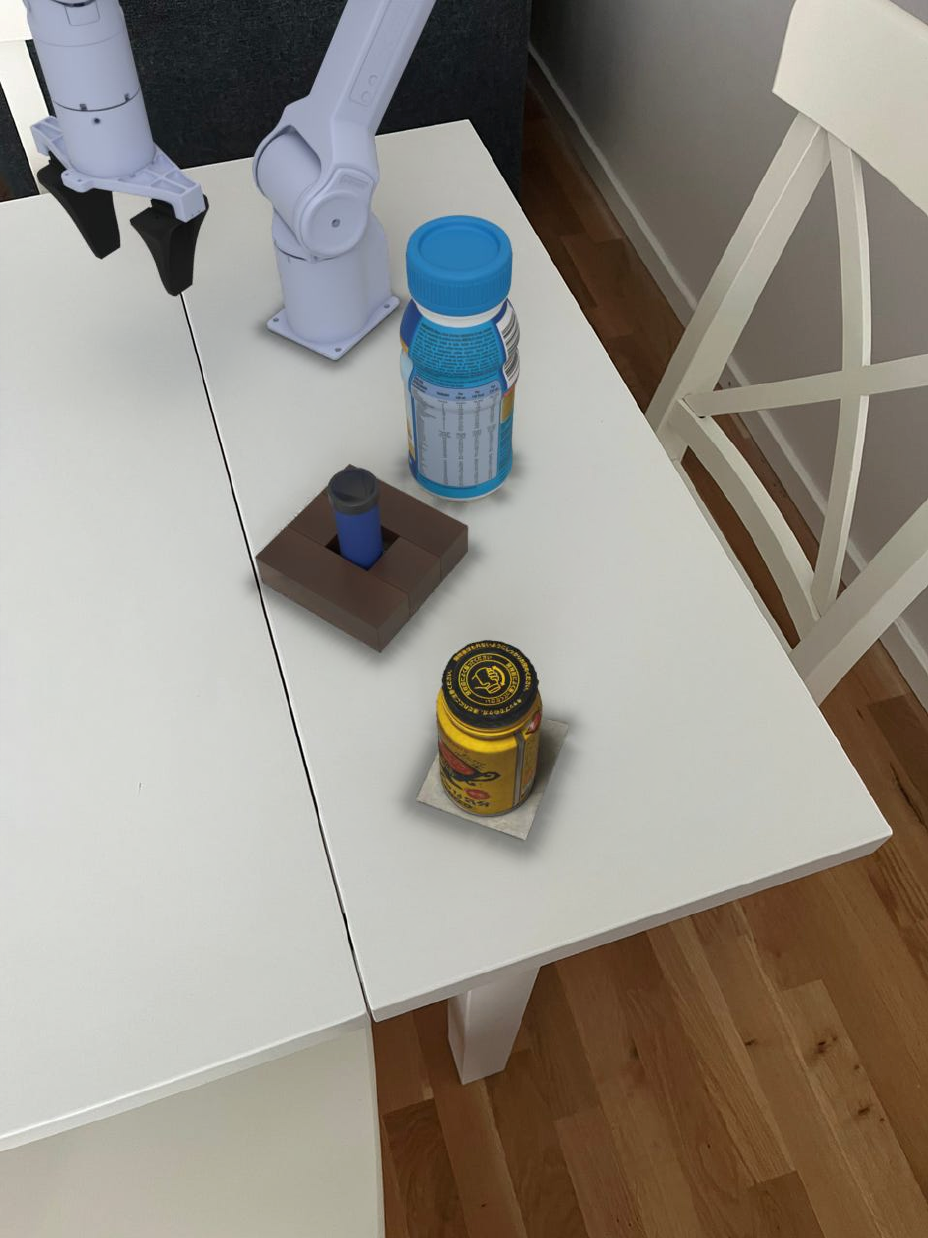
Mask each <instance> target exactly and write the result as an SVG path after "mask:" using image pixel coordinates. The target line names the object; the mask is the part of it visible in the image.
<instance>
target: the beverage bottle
mask: <svg viewBox="0 0 928 1238" xmlns="http://www.w3.org/2000/svg"><path fill="white" fill-rule="evenodd" d="M513 253H514V252H513V247H512V243H511V240H510V237H509V236H508V234H507V233H506V231H504V230H503V228H501V227H500V226H499V225H497V224H496V223H494V222H492V221H490V220H488V219H485V218H483V217H479V216H474V215H465V214H464V215H463V214H454V215H446V216H440V217H437V218H433V219H431V220H429V221H427V222H425V223H423V224H422V225H420V226H419V227H418V228H416V229H415V230H414V231H413V232H412V233H411V235H410V236H409V238H408V240H407V243H406V251H405V267H406V268H405V269H406V270H405V271H406V279H407V280H406V281H407V282H406V283H407V288H408V291H409V294H410V297H411V298H410V300H409V301H408V303H407V305H406V307H405V309H404V312H403V314H402V317H401V321H400V324H399V342H400V344H401V351H400V355H399V372H400V378H401V380H402V383H403V390H404V391H403V392H404V404H405V415H406V428H407V429H406V431H407V441H408V443H407V444H408V450H407V451H408V453H407V456H408V466H409V468H408V469H409V471H410V474H411V476H412V478H413V480H414V481H415V482H416V484H417V485H418V486H419V487H420V488H421V489H422V490H423V491H425V492H426V493H427V494H430V495H431V496H433V497H435V498H437V499H440V500H445V501H450V502H471V501H476V500H479V499H483V498H485V497H487V496H490V495H492V494H493V493H495V492H496V491H497V490H499V489H500V488H501V487H502V486H503V485H504V484H505V483H506V482H507V479H508V478H509V476H510V474H511V471H512V467H513V457H514V452H513V451H514V449H513V427H514V411H515V397H516V386H517V385H516V384H517V382H518V380H519V377H520V370H521V359H520V352H519V348H518V346H519V342H520V339H521V338H520V337H521V330H520V324H519V319H518V316H517V314H516V311H515V309H514V306H513V304H512V302H511V301H510V299H509V298H508V296H509V293H510V291H511V286H512V276H513V257H514V254H513Z"/></svg>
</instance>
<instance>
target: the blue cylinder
mask: <svg viewBox="0 0 928 1238" xmlns="http://www.w3.org/2000/svg"><path fill="white" fill-rule="evenodd" d="M327 485H328V487H327V491H328V497H329V501H330V504H331V505H332V507H333V508H334V514H335V520H336V526H337V532H338V538H339V544H340V550H341V556H342V557H343V558H345V559H346V560H348V561H350V562H352V563H354V564H355V565H357V566H359V567H361V568H362V569H364V570H366V571H368V570H369V569H370V568H371V567H372V566H373V565H374V564H375V563H376V562H377V561H378V560H379V559H380V557H381V556H382V555H383V554H384V551H383V544H382V535H381V526H380V517H379V508H378V501H379V498H380V490H379V482H378V480H377V477H376V475H375V474H374V473H373V472H372V471H370V470H368V469H366V468H361V467H357V468H347V469H345V468H343V469H341V470H339V471H337V472H336V473H334V474H333V475H332V476H331V478H329V481H328V483H327Z"/></svg>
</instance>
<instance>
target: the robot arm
mask: <svg viewBox="0 0 928 1238" xmlns="http://www.w3.org/2000/svg"><path fill="white" fill-rule="evenodd" d="M21 1H22V3H23V6H24V7H25V8H26V21H27V25H28V29H29V32H30V35H31V38H32V41H33V44H34V48H35V51H36V54H37V57H38V61H39V64H40V68H41V70H42V71H41V72H42V74H43V78H44V81H45V84H46V87H47V90H48V93H49V97H50V99H51V103H52V107H53V109H54V112H55V116H56V117H55V116H53V115H48V116H47V117H44V118H43V119H41V120H39V121H37V122H35V123H34V124H31V125H30V126H29V130H30V133H31V136H32V139H33V142H34V145H35V148H36V151H37V153H38V154H41V155H43V156H45V157H49V159H48V160H47V162H48V164H47V165H45V166H43V167H42V168H40V169H39V170H37V172H36V179H37V181H38V183H39V184H40V185H41V186H42V187H44V189H45V190H46V191H48V192H49V193H50V194H51V196H53V197H54V199H55V200H56V201H57V202H58V203H59V204H60V206H61V207H62V208H63V209H64V211H65V212H66V213H67V214H68V216H69V217H70V219H71V220H72V222H73V223H74V224H75V226H76V228H77V230H78V231H79V233H80V234H81V236H82V237H83V240H84V241H85V243H86V244H87V245H88V247H89V249H90V251H91V252H92V254H93V256H95V258H97V259H99V260H103V259H105V258H106V257H108V256H109V255H111V254H113V253H115V252H116V251H117V250H119V249H120V248H121V233H120V228H119V223H118V218H117V213H116V208H115V204H114V203H115V202H114V195H113V194H114V193H113V192H116V193H119V194H120V193H121V194H127V195H132V196H138V197H142V198H149V201H150V205H151V207H150V206H148V207H146V208H145V209H143V210H142V211H140V212H139V213H137V214H136V215H134V216H132V217H130V219H129V224H130V226H131V227H132V228H133V229H134V230H135V232H137V234H138V235H139V236H140V238H141V240H143V242H144V244H145V246H146V247H147V249H148V250H149V252H150V255H151V257H152V259H153V261H154V263H155V266H156V270H157V273H158V276H159V278H160V281H161V283H162V285H163V288H164V289H165V291H166V292H167V294H168V295H170V296H172V297H173V298H174V297H178V296H179V295H180V294H182V293H183V292H184V291H186V290H187V289H188V288H190V287H191V286H193V285H194V284H193V282H194V267H195V255H196V248H197V242H198V238H199V235H200V231H201V228H202V226H203V222H204V219H205V218H206V215H207V213H208V211H209V210H210V209H209V208H210V203H209V199H208V197H207V195H206V194H204V193H203V189H202V184H201V183H199V182H198V181H196V180H193V179H192V178H191V177H189V176H188V175H186V173H185V172H183V171H182V170H181V168H179V167H178V165H177V164H176V163H175V162H174V161H173V160H172V159H171V158H170V157H169V156H168V155H167V154H166V153H165V152H164V151H163V150H162V149H161V148H160V147H159V146H158V145H157V144H156V143H155V142H154V139H153V136H152V131H151V130H152V129H151V127H150V122H149V119H148V113H147V109H146V106H145V100H144V96H143V92H142V87H141V84H140V80H139V76H138V71H137V68H136V63H135V59H134V55H133V50H132V46H131V41H130V38H129V37H130V36H129V33H128V29H127V25H126V18H125V14H124V11H123V8H122V7H121V5H120V3H119V0H21ZM436 2H437V0H347V2H346V3H345V4H346V5H345V6H344V9H343V12H342V14H341V16H340V19H339V21H338V24H337V26H336V28H335V31H334V34H333V36H332V39H331V41H330V43H329V46H328V48H327V51H326V53H325V55H324V57H323V61H322V63H321V65H320V68H319V71H318V73H317V75H316V78H315V80H314V82H313V85H312V88H311V90H310V92H309V94H308V95H306V96H305V97H303V98H300V99H298V100H296V101H293V102H291V103H289V104H288V105H286V107H284V110H283V112H282V115H281V118H280V119H279V121H278V123H277V125H276V126H275V128H274V129H273V130H272V131H271V132H270V133H269V134H267V136H265V137H264V138H263V139H262V140H261V142H260V143H259V145H258V147H257V148H256V150H255V153H254V155H253V159H252V164H251V172H252V178H253V182H254V184H255V186H256V188H257V190H258V191H259V192H260V194H261V195H262V196H263V197H265V198H266V199H267V200H268V201H269V202H270V204H271V206H272V220H271V221H272V223H271V230H270V231H271V237H272V242H273V248H274V253H275V259H276V260H275V261H276V264H277V265H276V266H277V270H278V275H279V276H278V277H279V281H280V288H281V292H282V298H283V303H284V307H283V308H282V309H281V310H280V311H278V312H277V313H276V314H274V315H273V316H272V317H271V318H270V319H269V320H268V321H266V327H267V329H269V330H271V331H272V332H274V333H277V334H278V335H280V336H283V337H285V338H287V339H288V340H291V341H293V342H295V343H297V344H299V345H301V346H303V347H305V348H307V349H310V350H311V351H313V352H316V353H318V354H320V355H322V356H324V357H325V358H328V359H330V360H333V361H337V360H339V359H340V358H342V357H343V356H344V355H345V354H346V353H347V352H349V351H350V350H351V349H353V347H354V346H355V345H356V344H357V343H359V342H360V341H361V340H362V339H363V338H364V337H365V336H366V335H367V334H369V332H371V331H372V330H373V329H374V328H375V327H377V326H378V324H379V323H381V322H382V321H383V320H384V319H385V318H386V317H388V315H390V314H391V313H392V312H393V311H394V310H395V309H396V308H398V307H399V306H400V299H399V298H398V297H396V296H394V295H392V283H391V282H392V281H391V269H390V255H389V243H388V238H387V235H386V231H385V229H384V227H383V225H382V223H381V221H380V220H379V218H378V217H377V216H376V214H375V213H374V212H373V211H372V201H373V196H374V193H375V191H376V188H377V186H378V184H379V182H380V177H381V173H380V167H379V166H380V165H379V158H378V152H377V146H376V145H377V144H376V133H377V131H378V129H379V127H380V125H381V122H382V119H383V117H384V115H385V113H386V111H387V109H388V107H389V104H390V103H391V100H392V98H393V96H394V94H395V91H396V89H397V87H398V84H399V82H400V80H401V78H402V76H403V73H404V72H405V69H406V67H407V65H408V63H409V60H410V58H411V57H412V54H413V52H414V49H415V48H416V45H417V43H418V41H419V39H420V38H421V37H420V36H421V35H422V32H423V30H424V28H425V25H426V24H427V21H428V19H429V16H430V15H431V13H432V10H433V8H434V6H435V4H436Z"/></svg>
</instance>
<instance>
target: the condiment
mask: <svg viewBox="0 0 928 1238" xmlns="http://www.w3.org/2000/svg"><path fill="white" fill-rule="evenodd" d="M539 684H540V680H539V679H538V672H537V671H536V668H535V666H534V664H532V662H531V660H530V658H529V657H528V656H526V654H524V652H523V651H522V650H521V649H519V648H518V647H516V646H514V645H512V644H509V643H506V642H504V641H502V640H501V641H500V640H492V639H484V640H480V641H474V642H471V643H468V644H466V645H465V646H463V647H462V648H461V649H459V650H458V651H456V652H455V653H453V654H452V656H451V657H450V658H449V659H448V661H447V663H446V665H445V668H444V669H443V672H442V677H441V687H440V689H439V691H438V693H437V698H436V712H435V716H436V728H437V731H436V732H437V747H438V751H437V753H436V756H435V757H434V760H433V762H432V764H431V766H430V768H429V771H428V773H427V775H426V777H425V780H424V781H423V784H422V786H421V788H420V791H419V792H418V795H417V796H416V798H415V800H416V801H418V802H421V803H423V804H426V805H429V806H431V807H433V808H436V809H439V810H442V811H444V812H447V813H450V814H452V815H454V816H456V817H457V816H458V817H459V818H463V819H465V820H467V821H471V822H474V823H477V824H479V825H482V826H485V827H487V828H490V829H493V830H496V831H499V832H502V833H505V834H508V835H511V836H513V837H515V838H518V839H521V840H523V841H526V840H527V837H528V834H529V832H530V830H531V827H532V824H533V821H534V820H535V817H536V814H537V811H538V808H539V806H540V803H541V801H542V798H543V795H544V792H545V790H546V788H547V785H548V782H549V780H550V777H551V774H552V772H553V769H554V766H555V764H556V761H557V759H558V756H559V754H560V751H561V748H562V745H563V742H564V739H565V737H566V734H567V731H568V730H569V727H570V726H569V724H566V723H562V722H560V721H555V720H552V719H549V718H545V717H543V711H544V710H543V699H542V696H541V695H542V694H541V692H540V690H539Z"/></svg>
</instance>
